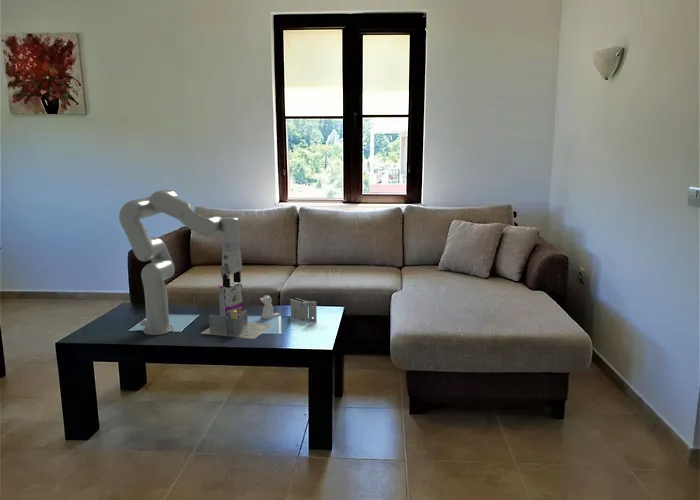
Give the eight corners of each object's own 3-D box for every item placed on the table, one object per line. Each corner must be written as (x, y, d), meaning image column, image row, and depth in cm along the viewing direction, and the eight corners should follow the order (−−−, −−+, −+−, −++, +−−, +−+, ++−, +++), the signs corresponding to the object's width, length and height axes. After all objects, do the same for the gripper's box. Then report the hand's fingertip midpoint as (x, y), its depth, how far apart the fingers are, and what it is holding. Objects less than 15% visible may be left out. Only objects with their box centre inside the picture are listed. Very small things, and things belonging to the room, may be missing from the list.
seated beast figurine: (281, 317, 266) (280, 293, 264) (274, 322, 258) (274, 298, 256) (263, 315, 269) (262, 292, 267) (256, 320, 261) (255, 296, 258)
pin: (229, 333, 239) (229, 311, 237) (233, 331, 242) (232, 309, 240) (236, 333, 238) (235, 311, 236) (239, 331, 241) (238, 310, 239)
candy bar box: (236, 313, 272) (235, 281, 269) (243, 315, 269) (242, 283, 266) (219, 318, 264) (217, 286, 261) (226, 320, 261) (224, 287, 258)
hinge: (317, 321, 259) (317, 301, 257) (310, 324, 255) (310, 304, 253) (293, 317, 266) (293, 297, 264) (287, 320, 262) (286, 300, 260)
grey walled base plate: (200, 335, 239) (199, 318, 238) (222, 322, 258) (221, 305, 257) (254, 341, 232) (253, 323, 231) (273, 327, 251) (272, 309, 250)
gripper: (229, 250, 224) (230, 290, 227) (247, 243, 240) (248, 281, 243) (212, 249, 226) (214, 288, 229) (232, 242, 242) (233, 279, 245)
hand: (231, 284), depth 236 cm, fingers open, 9 cm apart
